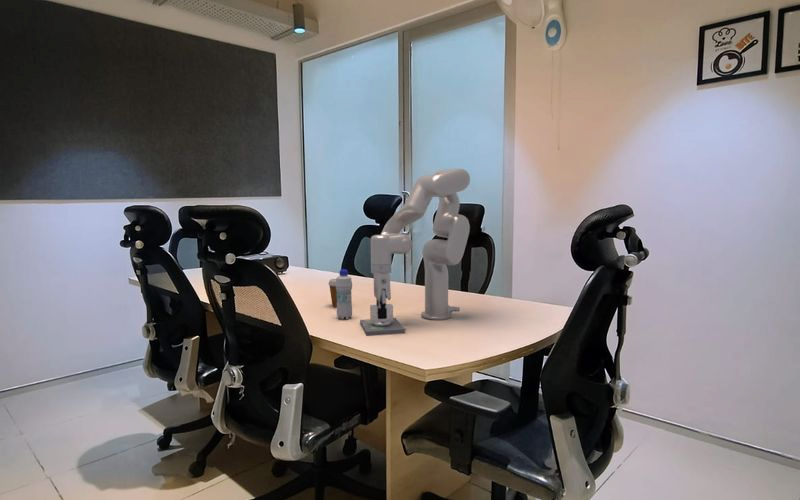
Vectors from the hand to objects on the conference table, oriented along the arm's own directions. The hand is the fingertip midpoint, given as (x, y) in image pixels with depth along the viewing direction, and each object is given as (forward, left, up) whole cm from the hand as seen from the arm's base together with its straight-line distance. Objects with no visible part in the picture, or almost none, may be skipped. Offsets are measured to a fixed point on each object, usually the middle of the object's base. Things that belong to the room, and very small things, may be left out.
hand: (381, 317), depth 179 cm
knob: (+1, 0, -3) cm, 3 cm away
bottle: (+12, -19, -5) cm, 22 cm away
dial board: (0, 0, -4) cm, 4 cm away
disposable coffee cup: (+12, -41, -5) cm, 42 cm away
